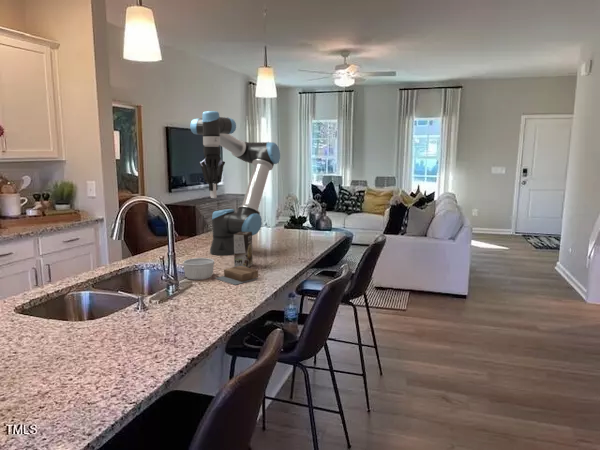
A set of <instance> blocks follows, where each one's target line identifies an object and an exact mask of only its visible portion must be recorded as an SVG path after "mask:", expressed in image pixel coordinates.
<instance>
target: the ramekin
mask: <svg viewBox="0 0 600 450" xmlns="http://www.w3.org/2000/svg"><path fill="white" fill-rule="evenodd" d="M214 265H215V260H214V258H207V257H194V258H192V257H191V258H188V259H185V260H183V261H182V266H183V269H184V275H185V277H186V278H187V279H189V280H195V281H196V280H197V281H198V280H200V281H201V280H206V279H209V278H211V277H212V276H213V275H214V274H213V273H214V268H215V267H214Z"/></svg>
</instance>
